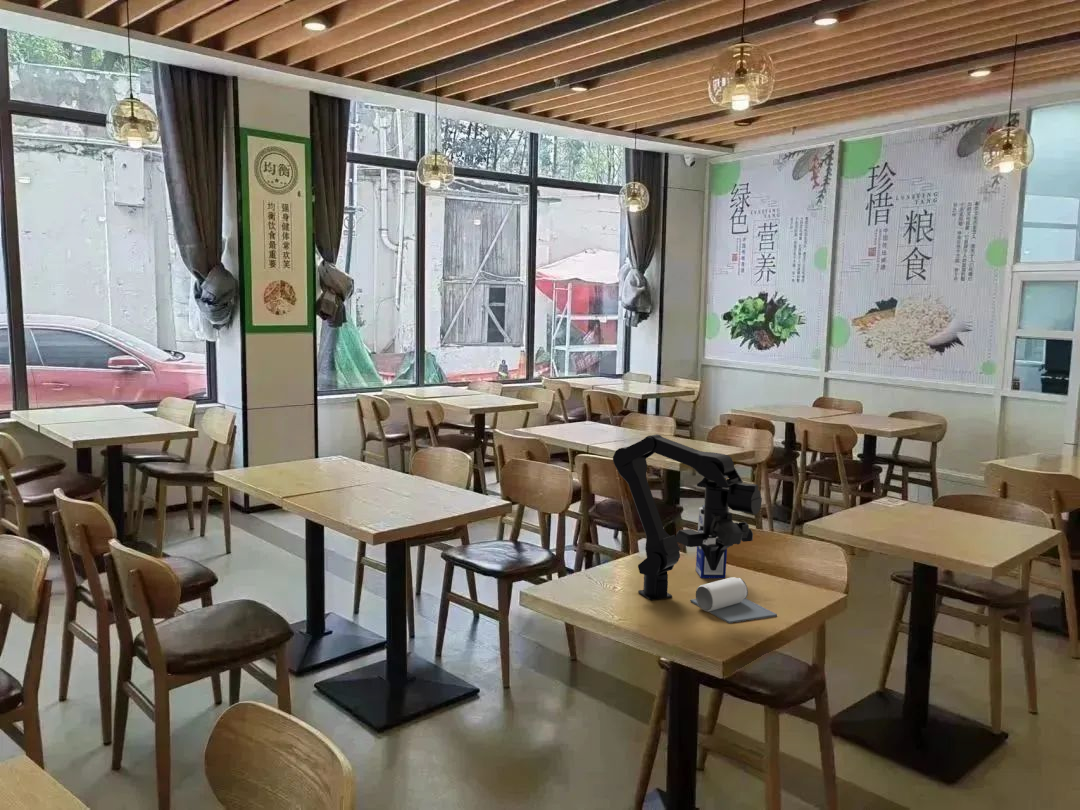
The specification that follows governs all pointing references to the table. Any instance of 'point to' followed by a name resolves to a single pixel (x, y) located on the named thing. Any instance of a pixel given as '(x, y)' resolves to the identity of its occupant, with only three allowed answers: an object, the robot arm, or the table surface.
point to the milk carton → (701, 560)
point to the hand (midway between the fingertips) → (713, 570)
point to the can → (721, 593)
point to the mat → (741, 611)
